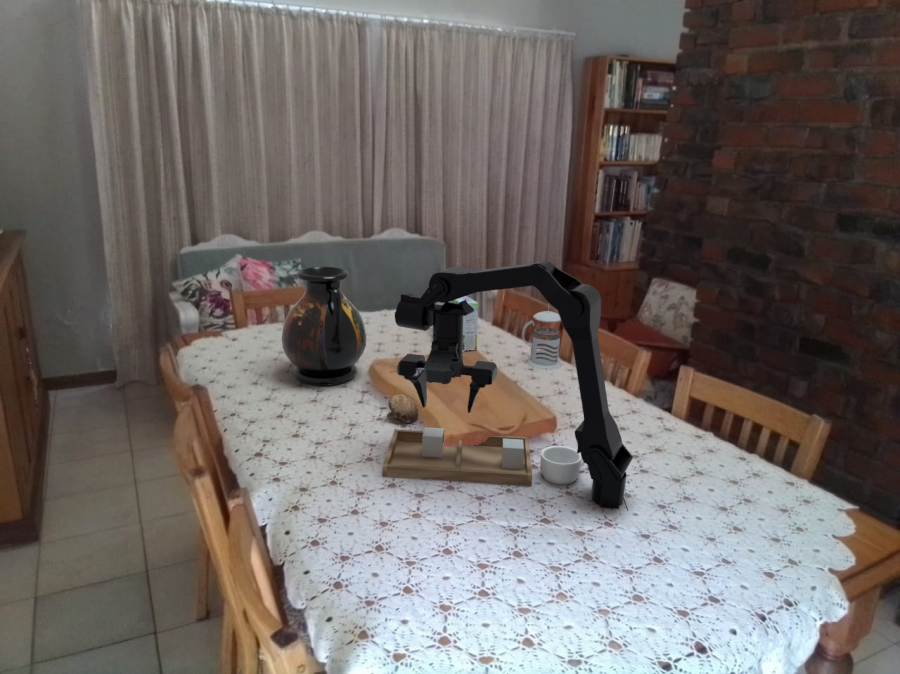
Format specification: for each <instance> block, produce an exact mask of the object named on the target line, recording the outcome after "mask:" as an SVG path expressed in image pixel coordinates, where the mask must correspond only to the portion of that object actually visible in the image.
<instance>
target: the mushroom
mask: <svg viewBox="0 0 900 674" xmlns="http://www.w3.org/2000/svg"><path fill="white" fill-rule="evenodd" d="M387 403H388V407H389V409H390V411H388V412H387V414H386V418H387V419H388V420H401V421H402V422H404V423H406V424H413V423H415V422H416V421H418V418H419V414H418V410H419V408H418V409H417V407H418V405H417V404H416V402H415V401H414V400H413V399H412V398H411V397H409V396H407V395H405V394H401V393H399V394H396V395H392V396H391V397H390V398H389V400H388V402H387Z"/></svg>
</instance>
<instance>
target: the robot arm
mask: <svg viewBox="0 0 900 674" xmlns="http://www.w3.org/2000/svg"><path fill="white" fill-rule="evenodd" d="M532 286H533V287H534V288H536V290H538V291H539V293H540V294H541V295H542V296H543V298H544V300H545V301H547V303H548V304H549V305H550V306H552V307H553V308H554V309H556V310H557V314H559V316H560V319H561V321H560V322H561V324H562V328H563V330H564V331H565V332H566V334H567V336H568V338H569V339H570V341H571V343H572V351H573V356H574V362H575V369H576V375H577V381H578V389H579V394H580V401H581V407H582V413H583V420H582V422H581V423H580V424H579V426H578V427H576V429H575V430H574V437H575V440H576V443H577V444H576V445H577V449H576V450H577V453H581V457H582V462H583V461H584V463H585V464H586V465H587V468H588V472H589V476H590V478H591V480H592V484H591V485H592V487H591V494H590V499H591V500H592V501H593V503H595V504H596V505H597V506H599V508H601V509H611V510H612V509H613V510H619V509H620V506H622V505H623V504H624V505H625V508H626V511H627V512H628V511H629V509H628V506H627V503H626V499H625V492H626V491H625V490H626V483H627V482H626V481H627V472H626V471H627V469H628V467H629V466H630V464H631V462H632V460H633V458H634V457H633V455H632V454H631V452H630V451H629V450H628V449H627V447H626V446H625V445H624V443H623V440H622V436H621V433H620V430H619V428H618V424H617V423H616V420H615V419H614V417H613V416H612V414H611V412H610V409H609V404H608V403H609V402H608V397H607V389H606V384H605V383H606V381H605V376H604V369H603V368H604V367H603V362H602V357H601V350H600V349H601V348H600V343H599V336H598V335H599V330H600V322H601V318H602V317H601V314H602V311H601V310H602V297H601V294H600V292H599V289H596V288H595V287H594V286H593V285H590V284H587V283H583V282H582V281H580V280H579V279H578V278H576V277H575V276H573V275H571V274H569V273H567V272H565V271H564V270H562V269H560V268H558V267H557V266H556V265H555V264H554V263H552V262H551V261H548V260H544V259H542V260H539V261H536V262H529V263H522V264H516V265H508V266H501V267H500V266H499V267H493V268H486V269H475V268H471V267H461V266H453V267H449V268H446V269H444V270H441V271H438V272H435V273H433V274H432V275H431V277H430V279H429V282H428V287H427V289H426V290H425V291H424V293H423V294H422V295H420V294H414V293H412V292H405V293H401V294H400V300H399V302H398V303H397V306H396V309H395V311H394V321H395V324H396V325H397V326H398V327H400V328H406V329H410V330H411V329H413V330H417V331H418V330H419V331H423V332H426V331H428V330H429V329H430V327H432V341H431V347H430V352H429V354H428V357H427V359H426V357H425V355H424V354H416V353H406V355H404V357H403V358H402V359H400V360H399V362H397V376H398V375H399V376H402V377H403V378H404V380H407V381H410V383H412V385H413V386H414V389H415V390H416V393H417V396H418V399H419V401H420V404H421V406H422V408H426V407H427V402H428V401H427V399H428V395H427V394H428V392H427V390H428V387H427V384H428V383H438V384H442V385H448V384H450V383H451V382H452V379H455V378H461V377H462V376H468V377H470V378H471V379H470V380H471V382H470V383H469V395H468V400H467V402H468V403H467V413H468V414H470V413H471V412H472V409H473V407H474V404H475V403H476V402H475V401H476V398H477V397H478V394H479V391H480V389H483V388H486V386H492V385H493V383H494V381H495V379H496V378H497V376H498V366H497V364H496V363H495V362H493V361H485V360H483V361H482V360H477V361H476V362H475V364H474V365H466V364H464V355H463V352H462V349H463V337H464V336H463V316H466V315H468V314H470V313H472V312H474V309H473V308H472V307H471V306H470V305H469V304H468V303H467V301H466V300H464V301H462V302H460V303H459V304H458V303H452V302H449V301H452V300H455V299H459V298H461V297H464V296H467V297H468V296H469V295H470V296H471V295H472V294H473V295H474V294H475V293H481V292H490V291H498V290H499V291H500V290H506V289H509V290H510V289H516V288H523V287H524V288H526V287H532ZM437 302H440V303H444V304H443V305H438V304H435V303H437Z"/></svg>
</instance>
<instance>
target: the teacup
mask: <svg viewBox="0 0 900 674" xmlns="http://www.w3.org/2000/svg"><path fill="white" fill-rule="evenodd" d="M577 450H578V449H575V448H573V447H570V446H565V445H551V446H548V447H545V448H543V449H542V450H541V451H540V472H541V474H542V476H543V478H544V479H545V480H546V481H547V482H550V483H552V484H556V485H568V484H572V483H573V482H575V481H576V480H577V478H578V477H579V473H580V470H581V468H582V467H583V466H584V465H585V464H586V463H584V461H583V460H582V457H581V452H580V453H577Z"/></svg>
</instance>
